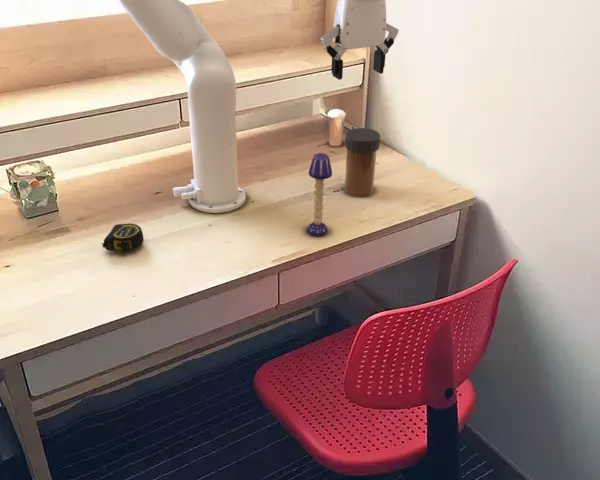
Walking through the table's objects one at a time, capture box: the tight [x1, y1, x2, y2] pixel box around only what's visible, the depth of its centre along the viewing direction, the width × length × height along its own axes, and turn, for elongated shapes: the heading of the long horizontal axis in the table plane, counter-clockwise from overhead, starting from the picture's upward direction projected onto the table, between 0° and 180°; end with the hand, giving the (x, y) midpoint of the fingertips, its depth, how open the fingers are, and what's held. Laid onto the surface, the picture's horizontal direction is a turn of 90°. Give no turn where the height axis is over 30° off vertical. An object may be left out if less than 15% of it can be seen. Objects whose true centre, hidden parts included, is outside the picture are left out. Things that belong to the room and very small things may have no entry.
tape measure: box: [101, 222, 145, 253], centre depth 134 cm, size 7×7×4 cm
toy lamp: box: [306, 152, 333, 237], centre depth 136 cm, size 5×5×17 cm
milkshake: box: [327, 107, 350, 147], centre depth 175 cm, size 4×5×10 cm
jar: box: [344, 148, 378, 198], centre depth 153 cm, size 7×7×13 cm
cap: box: [344, 127, 381, 153], centre depth 150 cm, size 8×8×3 cm
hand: (357, 74), depth 142 cm, fingers open, 9 cm apart
